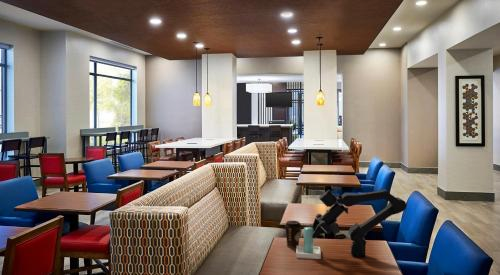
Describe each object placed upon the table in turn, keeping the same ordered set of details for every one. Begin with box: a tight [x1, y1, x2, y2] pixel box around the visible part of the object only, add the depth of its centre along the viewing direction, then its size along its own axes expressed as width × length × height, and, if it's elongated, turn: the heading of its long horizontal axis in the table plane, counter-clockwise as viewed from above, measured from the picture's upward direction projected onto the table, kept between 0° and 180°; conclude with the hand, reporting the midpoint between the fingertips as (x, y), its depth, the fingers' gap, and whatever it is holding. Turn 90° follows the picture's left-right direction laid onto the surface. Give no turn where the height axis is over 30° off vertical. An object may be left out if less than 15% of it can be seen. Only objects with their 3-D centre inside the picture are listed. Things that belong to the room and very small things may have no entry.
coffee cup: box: [284, 220, 302, 248], centre depth 216 cm, size 9×8×13 cm
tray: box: [295, 245, 322, 260], centre depth 203 cm, size 12×12×2 cm
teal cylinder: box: [303, 226, 314, 253], centre depth 203 cm, size 5×5×12 cm
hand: (311, 234), depth 203 cm, fingers open, 9 cm apart
